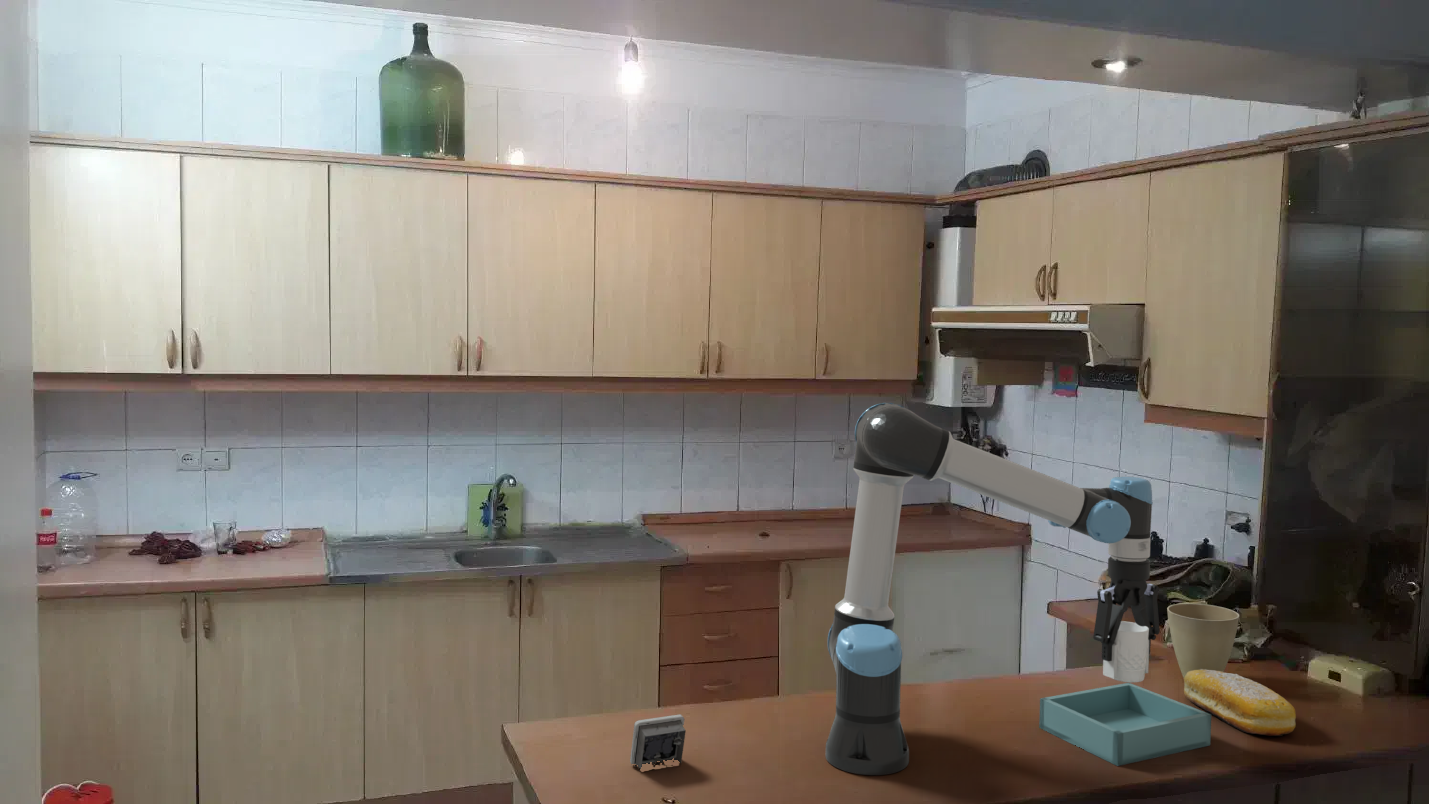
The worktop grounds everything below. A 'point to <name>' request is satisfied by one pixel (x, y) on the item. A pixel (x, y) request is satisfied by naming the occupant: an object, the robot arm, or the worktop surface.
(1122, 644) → the white cup
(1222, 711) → the bread
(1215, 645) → the plant pot
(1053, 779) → the worktop surface
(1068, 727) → the walled box
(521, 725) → the worktop surface
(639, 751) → the electrical switch
